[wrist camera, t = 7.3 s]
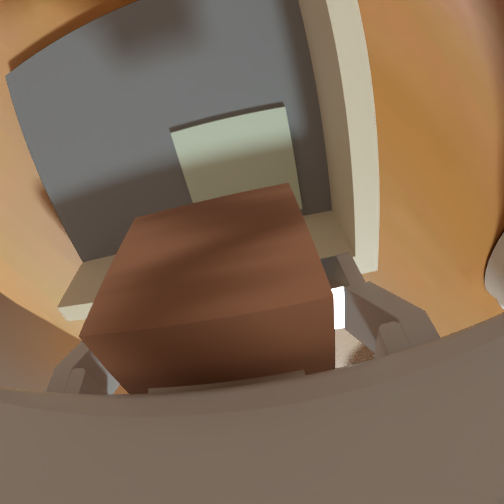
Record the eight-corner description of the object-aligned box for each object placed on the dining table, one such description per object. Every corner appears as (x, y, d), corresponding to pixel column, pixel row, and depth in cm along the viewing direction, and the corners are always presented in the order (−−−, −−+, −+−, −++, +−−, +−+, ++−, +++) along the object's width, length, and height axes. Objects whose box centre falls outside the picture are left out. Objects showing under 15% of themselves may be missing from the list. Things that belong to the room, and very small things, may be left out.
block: (288, 182, 10) (336, 303, 5) (305, 300, 13) (334, 420, 8) (135, 217, 10) (76, 342, 6) (184, 322, 14) (171, 439, 9)
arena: (308, -31, 13) (338, -66, 7) (347, 216, 24) (377, 270, 18) (14, 73, 15) (-46, 91, 9) (94, 266, 26) (67, 321, 21)
